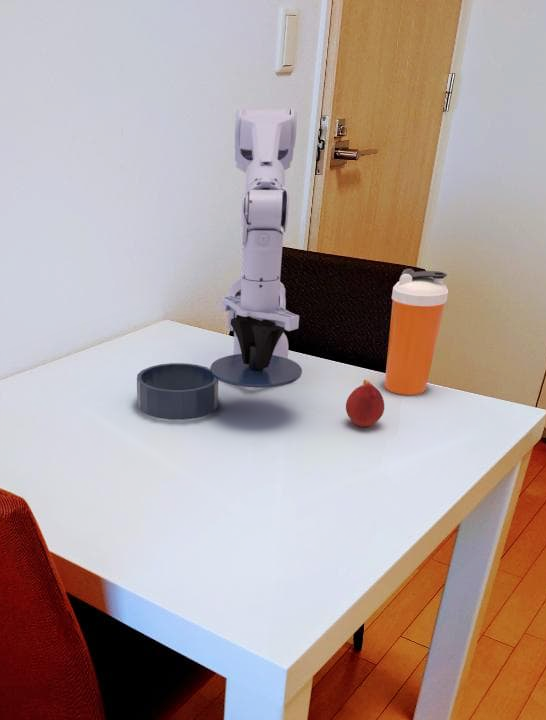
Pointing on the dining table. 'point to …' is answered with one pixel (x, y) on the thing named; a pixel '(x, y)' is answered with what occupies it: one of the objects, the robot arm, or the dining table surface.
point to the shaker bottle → (414, 330)
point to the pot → (177, 391)
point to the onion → (365, 405)
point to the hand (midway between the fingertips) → (255, 365)
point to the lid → (255, 371)
